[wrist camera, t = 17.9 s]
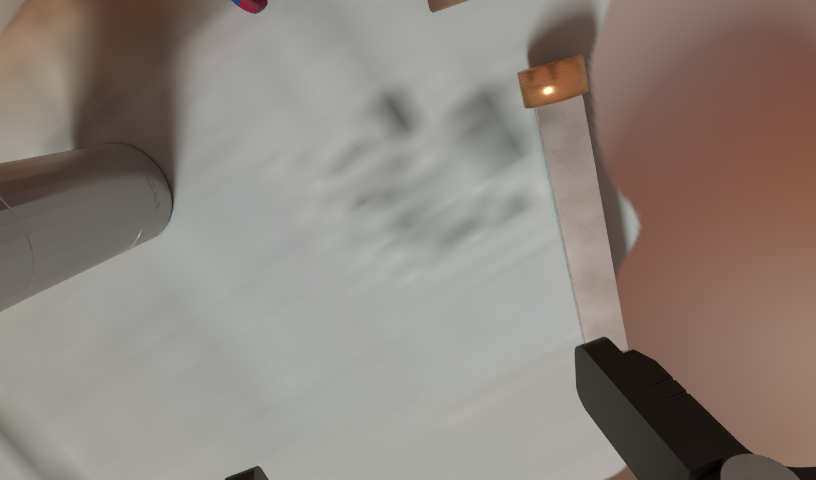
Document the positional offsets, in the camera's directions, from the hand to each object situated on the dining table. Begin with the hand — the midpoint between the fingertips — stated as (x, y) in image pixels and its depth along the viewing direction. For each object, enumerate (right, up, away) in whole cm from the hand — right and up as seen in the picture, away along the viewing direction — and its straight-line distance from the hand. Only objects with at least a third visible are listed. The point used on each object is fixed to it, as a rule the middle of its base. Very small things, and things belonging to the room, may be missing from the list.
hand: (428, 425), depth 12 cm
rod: (+13, +7, +27) cm, 30 cm away
